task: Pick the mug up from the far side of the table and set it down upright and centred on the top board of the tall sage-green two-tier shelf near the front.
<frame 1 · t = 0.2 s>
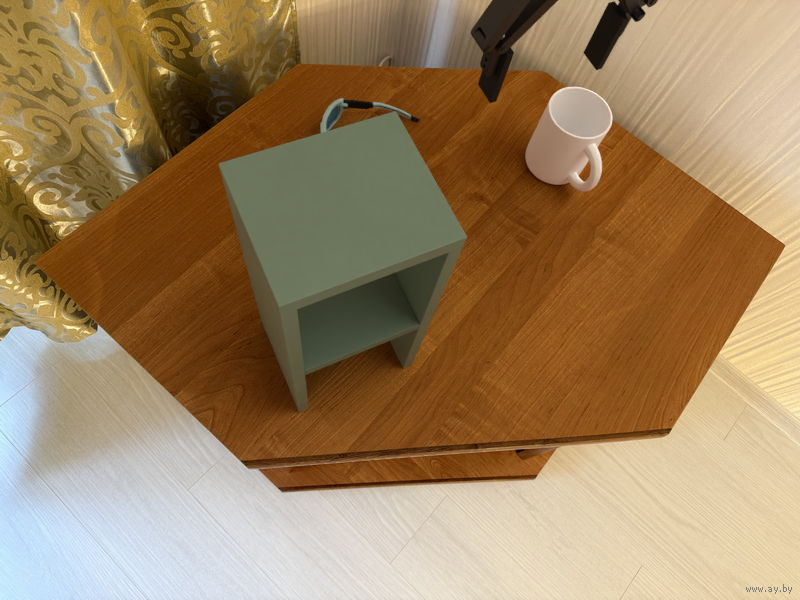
hand: (541, 76, 64), 19 cm above the table, tool pointing down, fingers open, 13 cm apart
shelf: (336, 342, 69), on the table
mug: (557, 173, 83), on the table
sunglasses: (372, 154, 81), on the table
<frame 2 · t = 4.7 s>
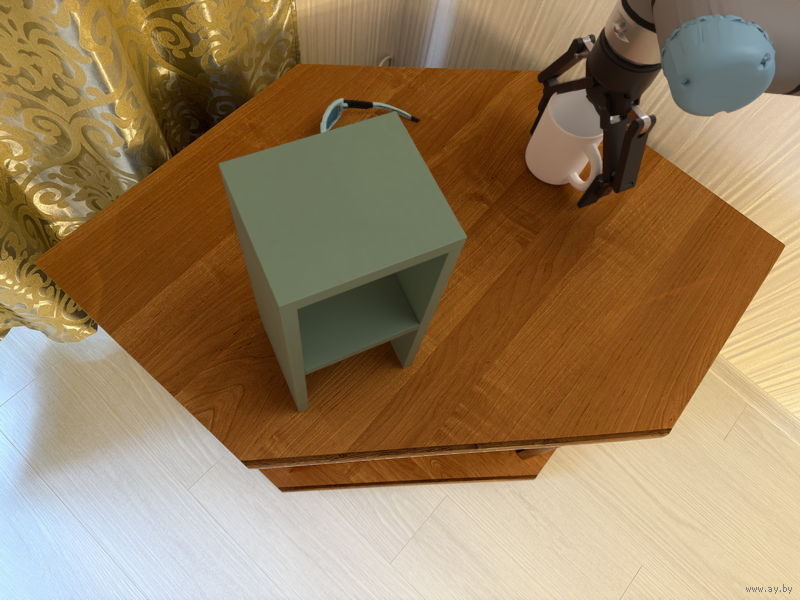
hand: (561, 166, 82), 1 cm above the table, tool pointing down, fingers closed on mug, 12 cm apart
mug: (557, 173, 83), on the table, touching gripper
everything else where it was.
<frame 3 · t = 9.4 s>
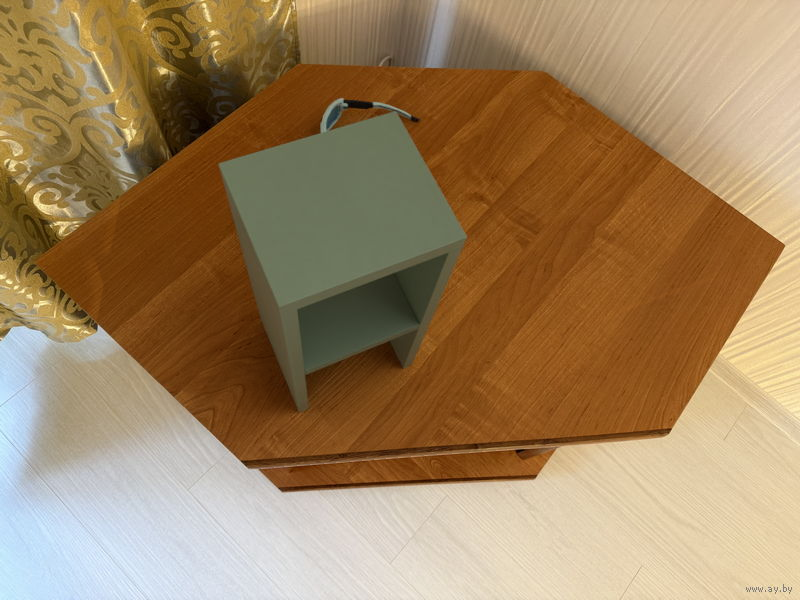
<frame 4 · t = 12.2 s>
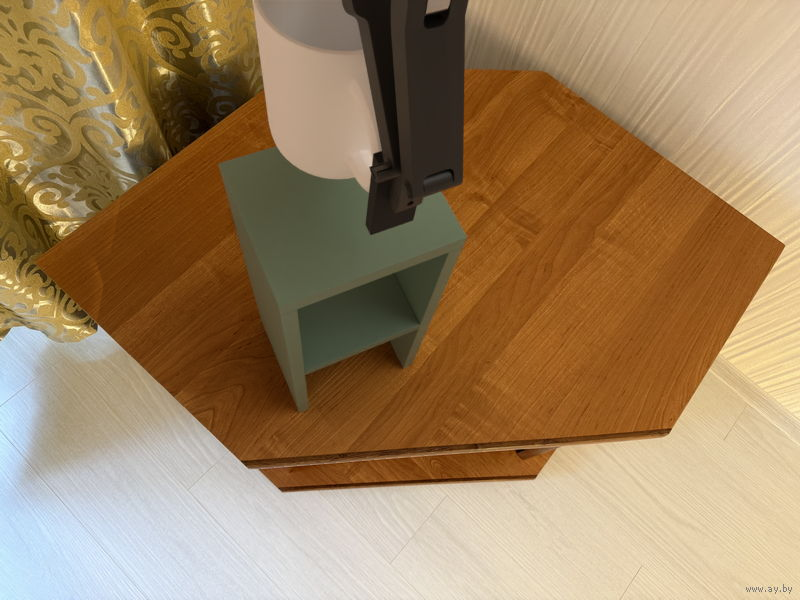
hand: (345, 139, 36), 36 cm above the table, tool pointing down, fingers closed on mug, 12 cm apart
mug: (345, 155, 38), point 35 cm above the table, touching gripper
everything else where it was.
when the fingers open (31 cm above the table, at t = 14.1 s): mug stays where it is, resting on shelf.
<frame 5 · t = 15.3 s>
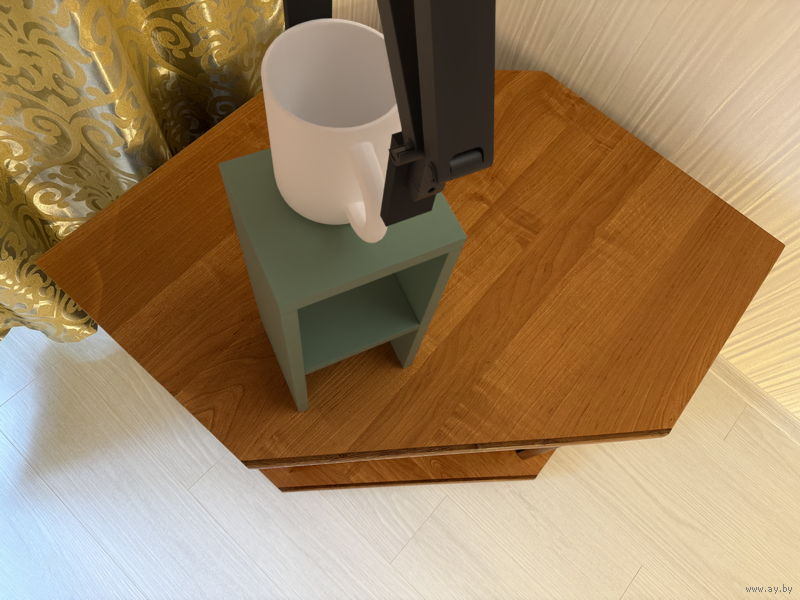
hand: (354, 118, 34), 39 cm above the table, tool pointing down, fingers open, 13 cm apart
mug: (342, 201, 42), point 30 cm above the table, touching gripper, shelf
everything else where it was.
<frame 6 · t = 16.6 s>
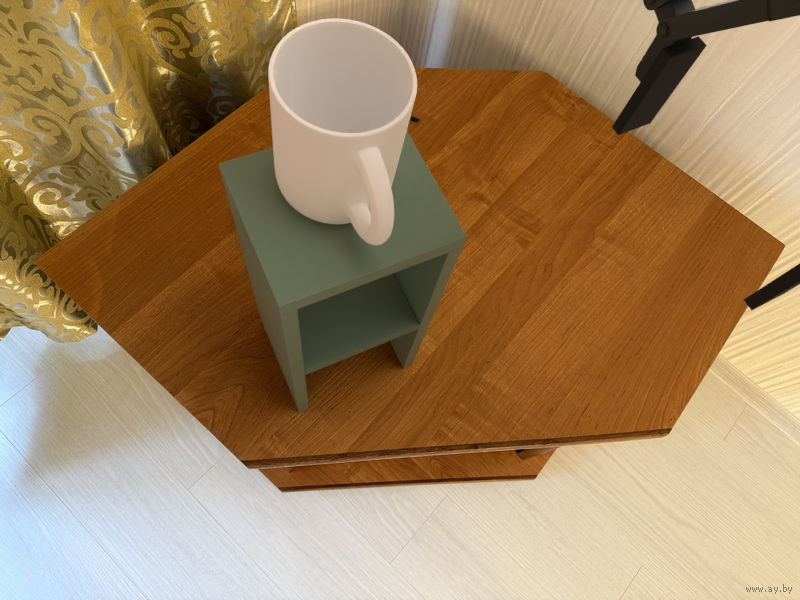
hand: (693, 206, 37), 36 cm above the table, tool pointing down, fingers open, 13 cm apart
mug: (342, 200, 42), point 30 cm above the table, touching shelf
everything else where it was.
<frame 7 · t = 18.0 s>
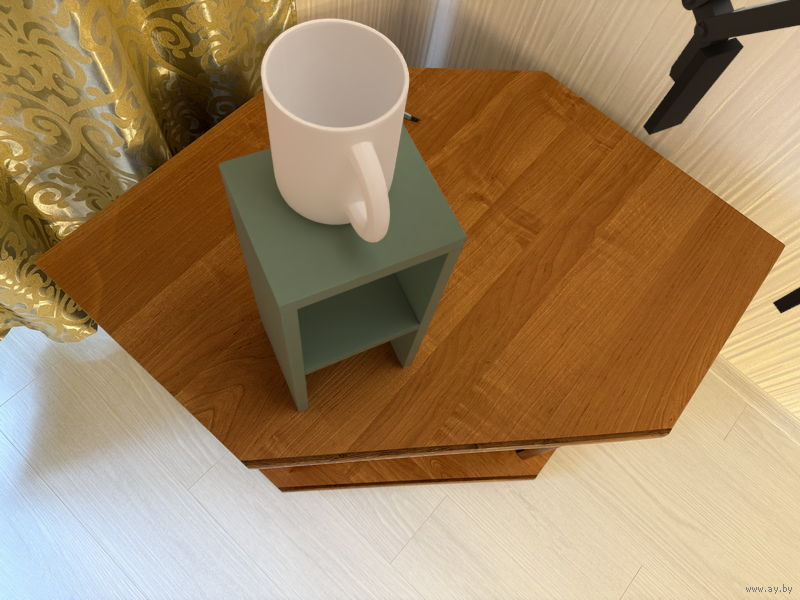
hand: (723, 207, 37), 37 cm above the table, tool pointing down, fingers open, 13 cm apart
nothing on the table moved.
at the end: mug inside the target area on the shelf (0.0 cm from its centre), point 29.8 cm above the shelf's base; mug tilted 0°; the gripper is holding nothing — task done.
